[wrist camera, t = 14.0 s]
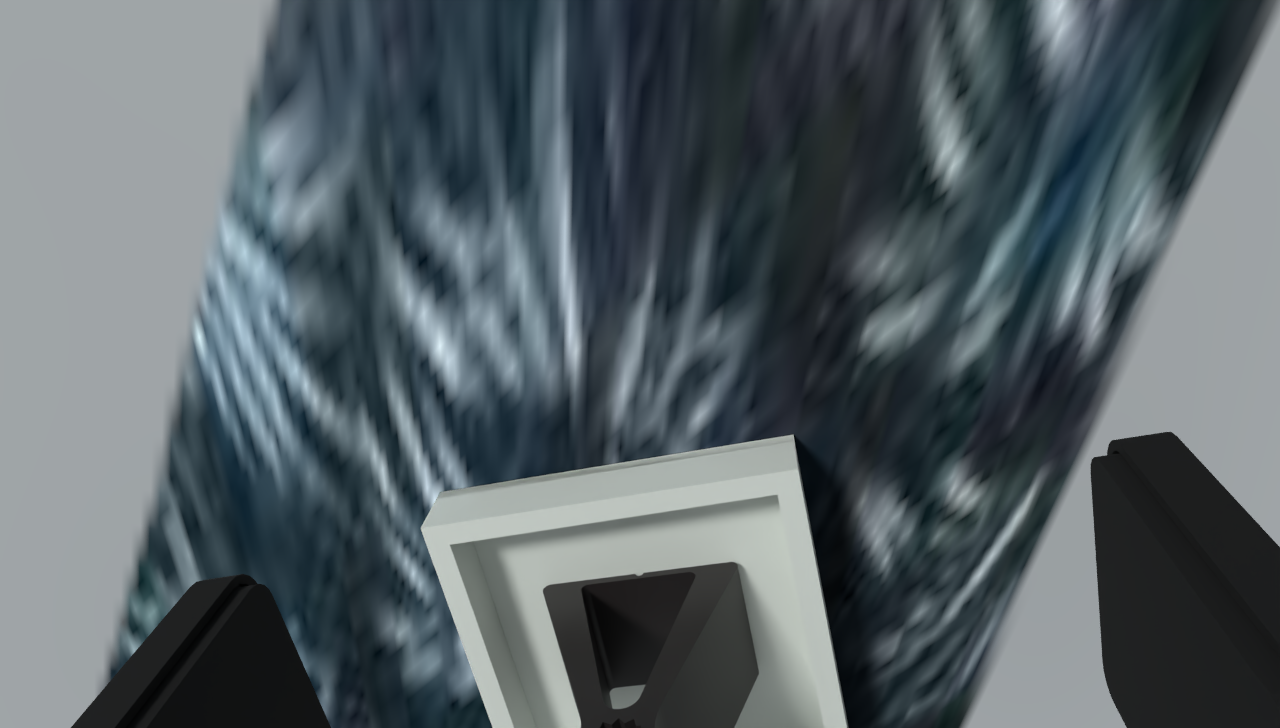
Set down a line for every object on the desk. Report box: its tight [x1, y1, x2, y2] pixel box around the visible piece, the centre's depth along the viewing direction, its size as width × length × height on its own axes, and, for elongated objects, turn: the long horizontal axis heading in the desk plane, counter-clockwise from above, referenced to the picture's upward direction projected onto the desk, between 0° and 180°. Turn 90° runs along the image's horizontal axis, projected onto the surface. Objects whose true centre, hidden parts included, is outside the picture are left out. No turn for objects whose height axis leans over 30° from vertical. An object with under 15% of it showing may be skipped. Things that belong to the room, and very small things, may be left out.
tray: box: [421, 435, 849, 728], centre depth 44 cm, size 16×17×3 cm
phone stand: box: [543, 562, 759, 728], centre depth 39 cm, size 9×6×12 cm, turn 102°
